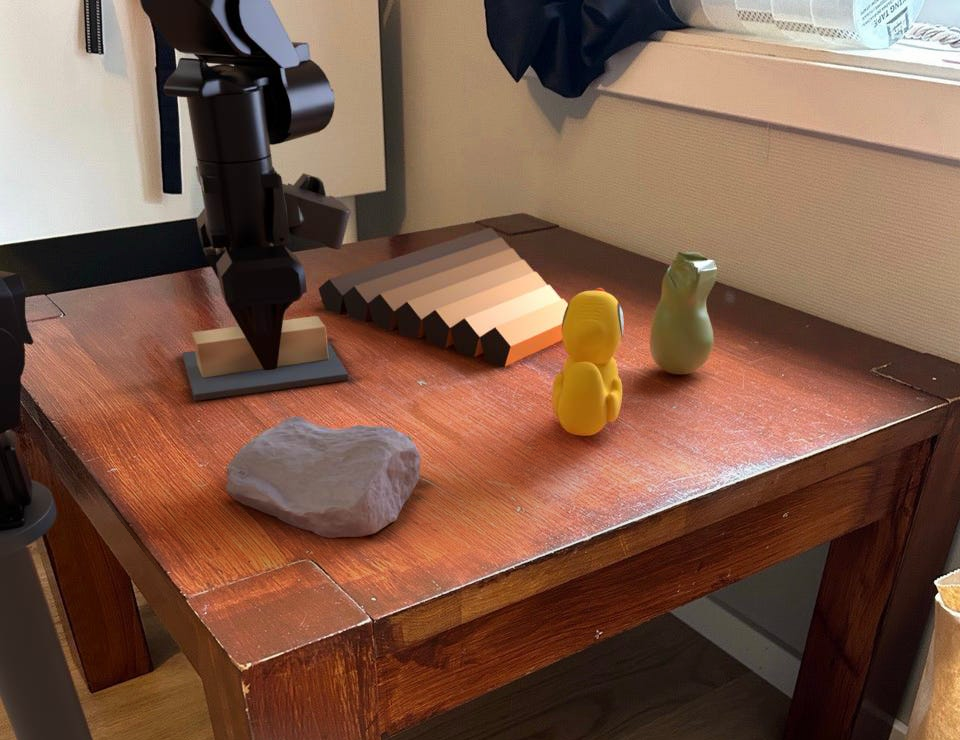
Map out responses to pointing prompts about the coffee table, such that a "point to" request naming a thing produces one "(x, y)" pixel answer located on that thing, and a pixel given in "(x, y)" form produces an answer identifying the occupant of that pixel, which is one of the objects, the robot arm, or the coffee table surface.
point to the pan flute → (456, 298)
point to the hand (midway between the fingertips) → (261, 350)
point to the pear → (684, 315)
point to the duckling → (589, 364)
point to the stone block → (326, 476)
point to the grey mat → (263, 377)
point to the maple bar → (235, 354)
